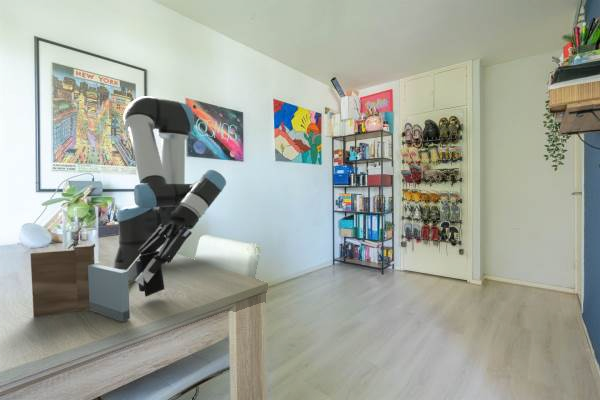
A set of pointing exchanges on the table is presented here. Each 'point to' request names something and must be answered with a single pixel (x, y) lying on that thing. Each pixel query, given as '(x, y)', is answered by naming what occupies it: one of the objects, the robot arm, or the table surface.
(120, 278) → the light blue flat panel
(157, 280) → the speaker
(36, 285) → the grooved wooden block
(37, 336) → the table surface
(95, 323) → the table surface
